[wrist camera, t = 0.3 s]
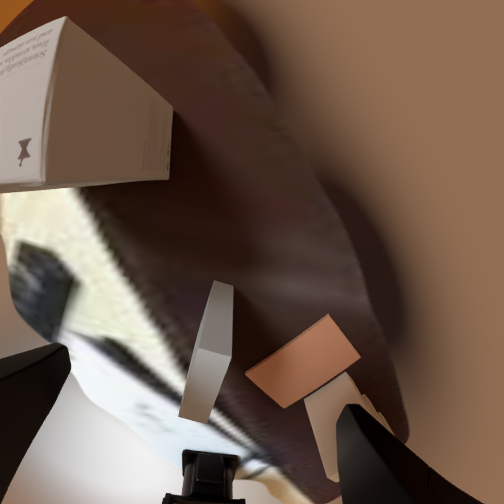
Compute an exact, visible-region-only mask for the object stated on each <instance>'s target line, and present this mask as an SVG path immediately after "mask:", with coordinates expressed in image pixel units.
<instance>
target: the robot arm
mask: <svg viewBox="0 0 504 504" xmlns="http://www.w3.org/2000/svg"><path fill="white" fill-rule="evenodd" d="M70 371H71V362H70V357H69V352H68V348H67V347H66V346H65V345H63V344H60V343H57V342H55V343H52V344H49V345H46V346H42V347H39V348H35V349H33V350H29V351H26V352H22V353H19V354H15V355H12V356H8V357H5V358H2V359H0V504H1V502H2V500H3V498H4V496H5V494H6V492H7V490H8V487H9V485H10V483H11V481H12V479H13V477H14V475H15V473H16V471H17V469H18V467H19V465H20V463H21V461H22V459H23V457H24V456H25V454H26V452H27V450H28V448H29V446H30V445H31V443H32V441H33V439H34V438H35V436H36V434H37V432H38V431H39V429H40V427H41V425H42V424H43V422H44V420H45V419H46V417H47V415H48V414H49V412H50V410H51V409H52V407H53V405H54V404H55V402H56V400H57V397H58V395H59V393H60V391H61V389H62V387H63V385H64V383H65V381H66V379H67V377H68V375H69V373H70ZM336 444H337V467H338V475H339V481H340V488H341V495H342V502H343V504H484V503H482V502H480V501H478V500H476V499H475V498H473V497H472V496H470V495H468V494H467V493H465V492H464V491H462V490H461V489H459V488H457V487H456V486H455V485H453V484H451V483H450V482H449V481H447V480H446V479H445V478H443V477H442V476H441V475H440V474H438V473H437V472H436V471H435V470H433V469H432V468H431V467H429V466H428V465H427V464H426V463H425V462H424V461H423V460H421V459H420V458H419V457H418V456H417V455H416V454H415V453H413V452H412V451H411V450H410V449H409V448H407V447H406V446H405V445H404V444H403V443H402V442H401V441H400V440H399V439H397V438H396V437H395V436H394V435H393V434H392V433H391V432H389V431H388V430H387V429H386V428H385V427H384V426H383V425H382V424H381V423H379V422H378V421H377V420H376V419H375V418H374V417H373V416H372V415H371V414H370V413H368V412H367V411H366V410H365V409H364V408H363V407H362V406H361V405H359V404H346V405H345V406H344V408H343V410H342V412H341V414H340V416H339V418H338V420H337V422H336ZM237 463H238V457H237V456H235V455H224V454H214V453H205V452H197V451H190V450H183V452H182V471H183V477H184V481H183V488H182V495H173V494H170V493H166V495H165V498H163V501H162V504H245V499H233V498H232V497H233V495H232V482H233V480H234V476H235V471H236V467H237Z"/></svg>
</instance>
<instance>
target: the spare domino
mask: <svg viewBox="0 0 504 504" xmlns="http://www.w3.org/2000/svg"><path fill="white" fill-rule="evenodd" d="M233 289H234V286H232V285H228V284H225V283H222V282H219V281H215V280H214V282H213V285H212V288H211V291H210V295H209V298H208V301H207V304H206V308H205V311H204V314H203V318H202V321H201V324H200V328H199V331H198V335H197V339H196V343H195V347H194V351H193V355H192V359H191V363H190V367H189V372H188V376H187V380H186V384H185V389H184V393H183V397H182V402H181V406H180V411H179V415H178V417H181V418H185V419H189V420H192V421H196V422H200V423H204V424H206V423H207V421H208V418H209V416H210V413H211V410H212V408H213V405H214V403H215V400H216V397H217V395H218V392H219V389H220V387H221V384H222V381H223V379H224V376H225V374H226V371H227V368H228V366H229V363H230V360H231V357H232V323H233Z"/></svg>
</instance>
